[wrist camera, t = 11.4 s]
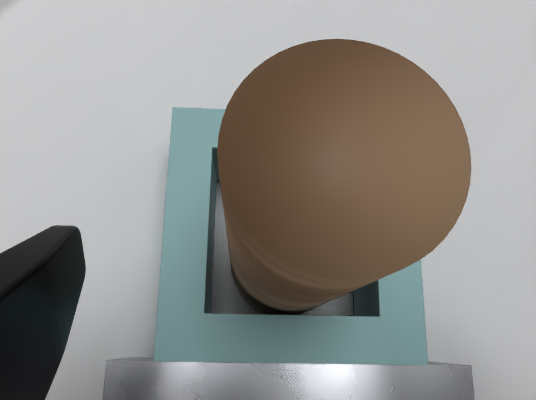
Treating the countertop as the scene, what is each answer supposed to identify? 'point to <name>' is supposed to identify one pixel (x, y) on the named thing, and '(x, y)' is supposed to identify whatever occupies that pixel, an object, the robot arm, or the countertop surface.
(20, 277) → the robot arm
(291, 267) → the dowel
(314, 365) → the bar
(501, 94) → the countertop surface
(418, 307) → the teal square frame
